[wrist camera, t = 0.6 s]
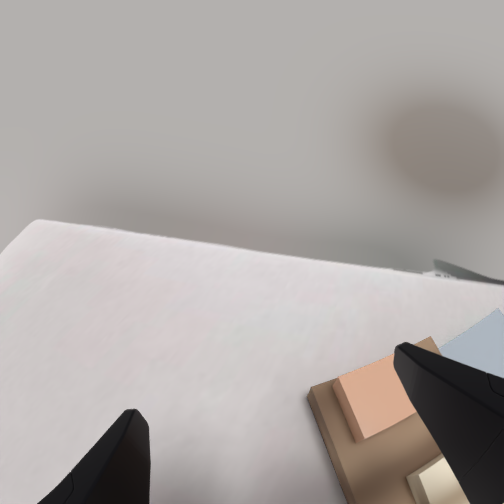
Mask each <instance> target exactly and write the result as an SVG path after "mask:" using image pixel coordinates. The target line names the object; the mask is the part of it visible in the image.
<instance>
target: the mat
mask: <svg viewBox="0 0 504 504" xmlns="http://www.w3.org/2000/svg"><path fill="white" fill-rule="evenodd" d="M438 349H439V351H440V353H441V355H442V356H444V357H447V358H450V359H452V360H455V361H458V362H460V363H463V364H466V365H468V366H471V367H474V368H477V369H479V370H482V371H485V372H486V373H491V374H493V375H496V376H499V377H502V378H504V315H503V314H502V313H501V311H500V310H499V308H498V309H496V310H495V311H494V312H492V313H491V314H490V315H488V316H487V317H486V318H484V319H483V320H481V321H480V322H479V323H477V324H476V325H474V326H473V327H471V328H470V329H468V330H467V331H465V332H464V333H462V334H461V335H459V336H458V337H456V338H455V339H453V340H451V341H450V342H448V343H447V344H445V345H443V346H442V347H440V348H438Z"/></svg>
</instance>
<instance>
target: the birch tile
mask: <svg viewBox="0 0 504 504" xmlns="http://www.w3.org/2000/svg"><path fill="white" fill-rule="evenodd" d="M406 478H407V481H408V483H409V486H410V489H411V491H412V494H413V496H414V499H415V501H416V504H470V503H469V501H468V499H467V497H466V496H465V494H464V492H463V490H462V488H461V486H460V484H459V482H458V480H457V479H456V477H455V475H454V473H453V472H452V470H451V468H450V466H449V464H448V463H447V461H446V459H445V458H444V456H443V454H442V453H441V454H440V455H438V456H437V457H436V458H434V459H433V460H431V461H430V462H428V463H427V464H425V465H424V466H422V467H421V468H419V469H418V470H416V471H415V472H413V473H411V474H410V475H408V476H406ZM503 504H504V503H503Z"/></svg>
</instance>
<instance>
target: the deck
mask: <svg viewBox="0 0 504 504" xmlns="http://www.w3.org/2000/svg"><path fill="white" fill-rule="evenodd" d="M414 345H416V346H418V347H421V348H423V349H426V350H428V351H431V352H434V353H436V354H439V355H441V353H440V351H439V349H438V348H437V346H436V344H435V343H434V341H433V339H432V338H431V336H430V337H428V338H426V339H424V340H422V341H420V342H418V343H416V344H414ZM336 379H337V378H336ZM336 379H333V380H330V381H328V382H325V383H322V384H319V385H316V386H313V387H311V389H310V391H309V393H308V395H307V398H308V401H309V403H310V406H311V409H312V411H313V414H314V416H315V419H316V422H317V424H318V427H319V430H320V432H321V435H322V437H323V440H324V443H325V445H326V448H327V451H328V453H329V456H330V458H331V461H332V464H333V466H334V469H335V472H336V474H337V477H338V479H339V482H340V485H341V487H342V490H343V492H344V495H345V498H346V500H347V503H348V504H416V501H415V499H414V496H413V494H412V491H411V489H410V486H409V483H408V481H407V478H406V476H408V475H410V474H411V473H413V472H415V471H416V470H418V469H419V468H421V467H422V466H424V465H425V464H427V463H428V462H430V461H431V460H433V459H434V458H436V457H437V456H438V455H440V454H441V453H442V452H441V451H440V449H439V447H438V446H437V444H436V442H435V441H434V439H433V437H432V436H431V434H430V432H429V431H428V429H427V427H426V426H425V424H424V423H423V421H422V419H421V418H420V416H419V414H418V413H417V412H416V413H414V414H412V415H411V416H409V417H407V418H405V419H404V420H402V421H400V422H398V423H396V424H395V425H393V426H391V427H389V428H387V429H385V430H383V431H381V432H379V433H377V434H375V435H373V436H371V437H369V438H367V439H364V440H362V441H360V442H358V443H356V442H355V440H354V437H353V435H352V432H351V430H350V428H349V425H348V423H347V420H346V418H345V416H344V413H343V411H342V408H341V406H340V404H339V401H338V399H337V397H336V394H335V392H334V389H333V387H332V386H333V384H334V383H335V381H336Z"/></svg>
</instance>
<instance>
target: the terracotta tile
mask: <svg viewBox="0 0 504 504" xmlns="http://www.w3.org/2000/svg"><path fill="white" fill-rule="evenodd" d="M393 360H394V354H392V355H390V356H388V357H385V358H383V359H381V360H379V361H376V362H374V363H372V364H369V365H367V366H364V367H362V368H359V369H357V370H354V371H352V372H349V373H347V374H344V375H342V376H339V377H338V378H337V379H336V381H335V383H334V384H333V386H332V387H333V389H334V392H335V394H336V397H337V399H338V401H339V404H340V406H341V408H342V411H343V413H344V416H345V418H346V420H347V423H348V425H349V428H350V430H351V432H352V435H353V437H354V440H355V442H356V443H358V442H360V441H362V440H364V439H367V438H369V437H371V436H373V435H375V434H377V433H379V432H381V431H383V430H385V429H387V428H389V427H391V426H393V425H395V424H396V423H398V422H400V421H402V420H404V419H405V418H407V417H409V416H411V415H412V414H414V413H416V412H417V411H416V410H415V408H414V407H413V405H412V403H411V402H410V400H409V398H408V396H407V394H406V391H405V389H404V387H403V385H402V383H401V381H400V379H399V377H398V375H397V373H396V371H395V369H394V366H393Z"/></svg>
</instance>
